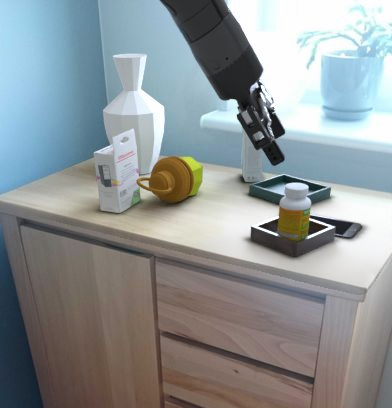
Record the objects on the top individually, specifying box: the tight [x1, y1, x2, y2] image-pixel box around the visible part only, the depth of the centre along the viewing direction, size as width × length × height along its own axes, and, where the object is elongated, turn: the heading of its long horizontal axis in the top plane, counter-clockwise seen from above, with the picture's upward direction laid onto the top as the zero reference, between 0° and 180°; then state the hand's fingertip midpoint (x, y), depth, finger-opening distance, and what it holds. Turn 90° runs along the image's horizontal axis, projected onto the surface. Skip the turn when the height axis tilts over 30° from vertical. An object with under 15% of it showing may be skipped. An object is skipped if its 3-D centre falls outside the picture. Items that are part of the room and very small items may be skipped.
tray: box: [248, 173, 332, 205], centre depth 119 cm, size 13×11×2 cm
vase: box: [102, 53, 165, 175], centre depth 130 cm, size 14×14×25 cm
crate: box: [249, 215, 336, 258], centre depth 99 cm, size 11×11×2 cm
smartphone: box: [310, 213, 363, 240], centre depth 106 cm, size 7×15×1 cm, turn 59°
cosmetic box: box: [241, 126, 264, 183], centre depth 127 cm, size 6×4×12 cm
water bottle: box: [137, 155, 204, 204], centre depth 116 cm, size 9×9×25 cm
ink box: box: [92, 129, 142, 214], centre depth 112 cm, size 9×5×15 cm, turn 154°
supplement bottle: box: [276, 183, 312, 241], centre depth 97 cm, size 5×5×10 cm
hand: (279, 148), depth 88 cm, fingers open, 8 cm apart
